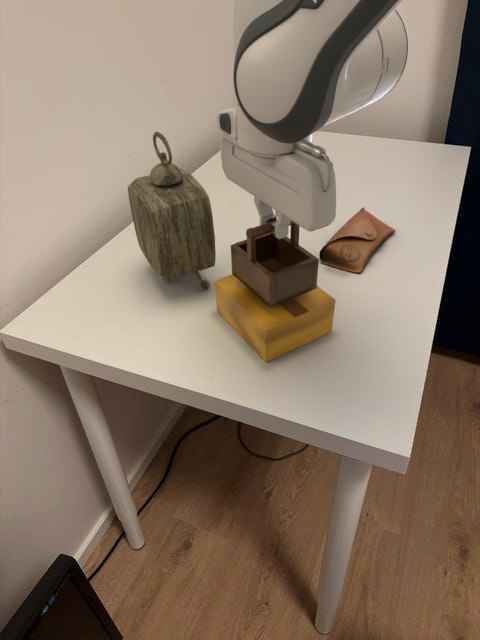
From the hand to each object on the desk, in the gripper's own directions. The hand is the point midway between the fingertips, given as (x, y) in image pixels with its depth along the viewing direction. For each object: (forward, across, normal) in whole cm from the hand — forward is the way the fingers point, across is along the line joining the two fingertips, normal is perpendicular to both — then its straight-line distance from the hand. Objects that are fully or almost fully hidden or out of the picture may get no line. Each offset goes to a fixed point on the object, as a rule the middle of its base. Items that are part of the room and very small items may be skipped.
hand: (273, 231), depth 65 cm
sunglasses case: (+16, +9, -26) cm, 32 cm away
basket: (+8, 0, 0) cm, 8 cm away
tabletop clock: (+16, +19, +7) cm, 26 cm away
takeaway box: (+16, 0, 0) cm, 16 cm away
